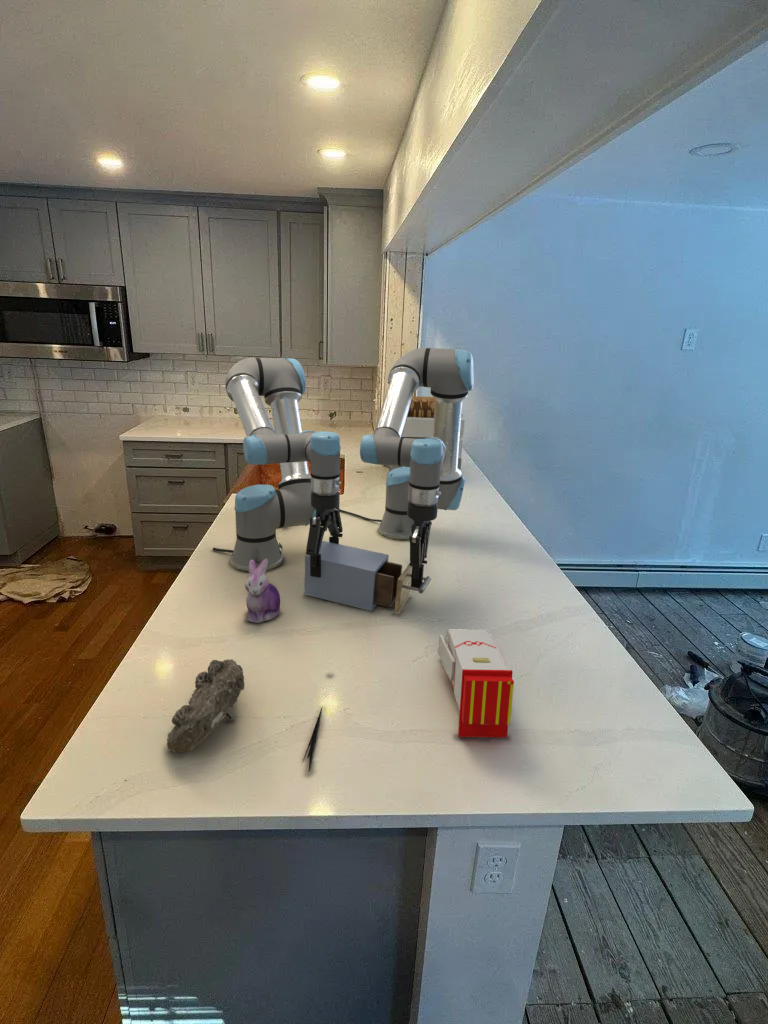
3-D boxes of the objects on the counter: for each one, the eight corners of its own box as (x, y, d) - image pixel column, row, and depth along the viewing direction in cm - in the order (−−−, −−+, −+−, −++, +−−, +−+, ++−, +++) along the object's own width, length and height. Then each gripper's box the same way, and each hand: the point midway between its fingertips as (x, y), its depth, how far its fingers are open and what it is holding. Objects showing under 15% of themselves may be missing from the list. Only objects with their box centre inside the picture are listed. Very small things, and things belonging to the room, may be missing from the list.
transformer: (382, 463, 289) (386, 382, 275) (445, 464, 293) (451, 384, 279) (390, 482, 257) (394, 392, 243) (460, 483, 261) (468, 394, 247)
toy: (488, 613, 130) (523, 677, 101) (484, 667, 133) (517, 744, 104) (435, 612, 130) (455, 676, 101) (432, 666, 133) (451, 743, 103)
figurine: (250, 628, 138) (248, 572, 133) (239, 608, 146) (237, 555, 141) (287, 620, 142) (286, 565, 137) (275, 601, 150) (274, 550, 145)
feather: (331, 679, 122) (336, 673, 122) (307, 777, 96) (313, 769, 95) (324, 675, 122) (329, 669, 121) (298, 772, 95) (304, 764, 95)
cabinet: (385, 592, 159) (388, 554, 155) (371, 611, 148) (374, 571, 144) (321, 577, 164) (323, 540, 160) (303, 594, 154) (305, 555, 150)
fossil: (192, 660, 117) (244, 628, 112) (224, 691, 120) (276, 661, 115) (142, 746, 98) (202, 712, 93) (182, 779, 101) (242, 748, 96)
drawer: (429, 600, 154) (433, 568, 151) (419, 617, 145) (423, 584, 142) (348, 581, 161) (350, 550, 157) (333, 597, 152) (335, 565, 148)
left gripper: (319, 507, 137) (319, 588, 144) (355, 481, 158) (353, 553, 165) (291, 503, 139) (292, 583, 146) (330, 478, 160) (330, 549, 167)
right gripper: (430, 512, 133) (423, 601, 141) (443, 496, 145) (436, 579, 153) (400, 507, 136) (395, 595, 144) (415, 492, 147) (409, 574, 155)
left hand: (325, 567), depth 156 cm, fingers closed on cabinet, 11 cm apart
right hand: (416, 587), depth 148 cm, fingers closed
